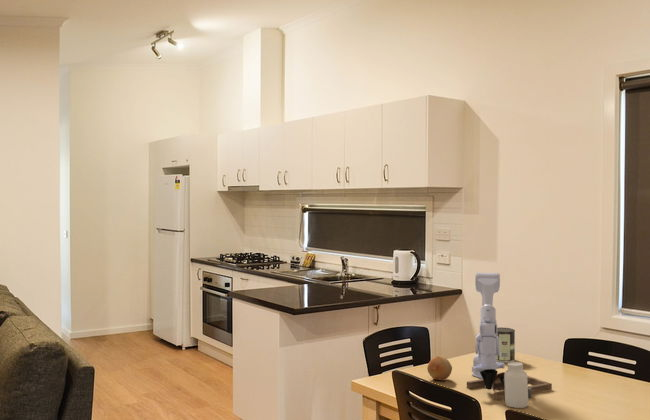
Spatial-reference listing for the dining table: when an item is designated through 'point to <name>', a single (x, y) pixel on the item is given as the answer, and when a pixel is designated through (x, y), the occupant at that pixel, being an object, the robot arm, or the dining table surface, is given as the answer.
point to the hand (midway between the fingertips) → (488, 388)
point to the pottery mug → (499, 385)
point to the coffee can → (506, 345)
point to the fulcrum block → (529, 392)
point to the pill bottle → (516, 386)
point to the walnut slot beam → (537, 387)
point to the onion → (439, 368)
